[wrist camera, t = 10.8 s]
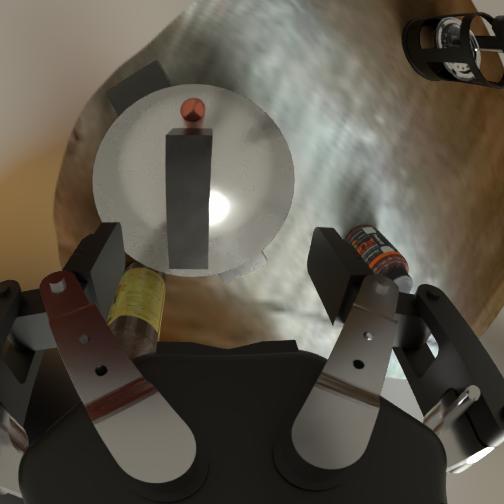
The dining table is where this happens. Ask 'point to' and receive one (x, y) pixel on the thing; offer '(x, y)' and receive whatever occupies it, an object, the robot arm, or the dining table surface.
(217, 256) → the cooker lid
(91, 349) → the robot arm
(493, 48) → the french press
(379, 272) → the supplement bottle
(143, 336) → the sauce bottle
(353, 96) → the dining table surface
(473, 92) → the dining table surface
